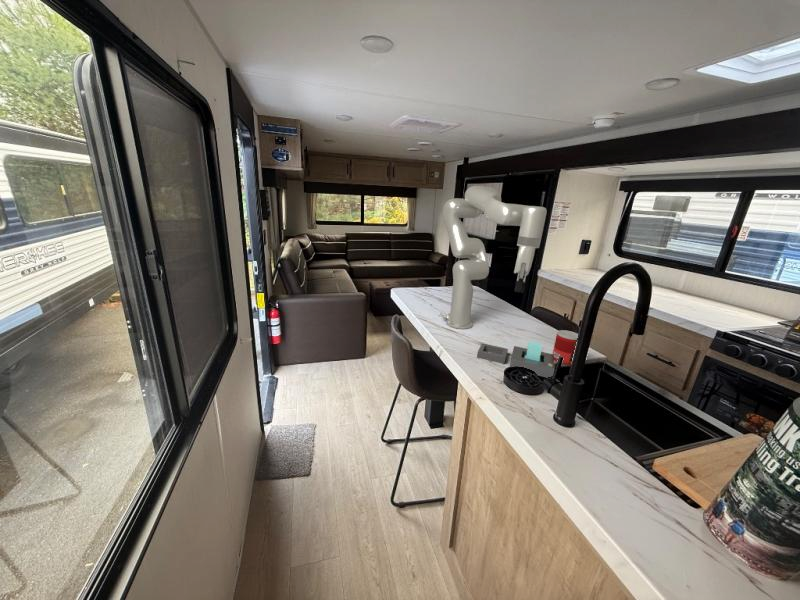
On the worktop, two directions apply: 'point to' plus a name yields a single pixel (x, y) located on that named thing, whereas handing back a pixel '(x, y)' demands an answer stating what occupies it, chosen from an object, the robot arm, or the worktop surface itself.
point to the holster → (492, 353)
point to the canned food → (565, 345)
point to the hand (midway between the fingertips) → (518, 291)
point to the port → (533, 362)
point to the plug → (534, 351)
